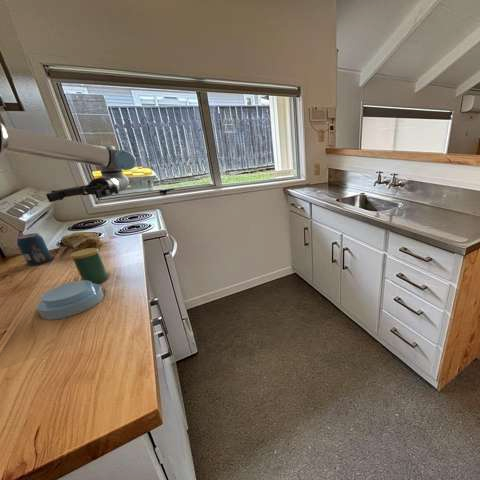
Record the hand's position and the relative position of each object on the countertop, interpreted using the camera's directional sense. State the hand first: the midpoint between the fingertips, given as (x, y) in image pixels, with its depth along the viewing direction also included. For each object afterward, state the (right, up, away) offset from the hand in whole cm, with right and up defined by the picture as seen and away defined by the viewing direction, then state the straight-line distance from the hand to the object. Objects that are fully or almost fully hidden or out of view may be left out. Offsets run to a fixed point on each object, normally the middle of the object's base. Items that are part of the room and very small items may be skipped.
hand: (73, 196), depth 87 cm
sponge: (-26, -18, +33) cm, 46 cm away
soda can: (-29, -25, +17) cm, 42 cm away
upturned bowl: (+11, -34, -11) cm, 37 cm away
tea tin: (+6, -29, +2) cm, 30 cm away
